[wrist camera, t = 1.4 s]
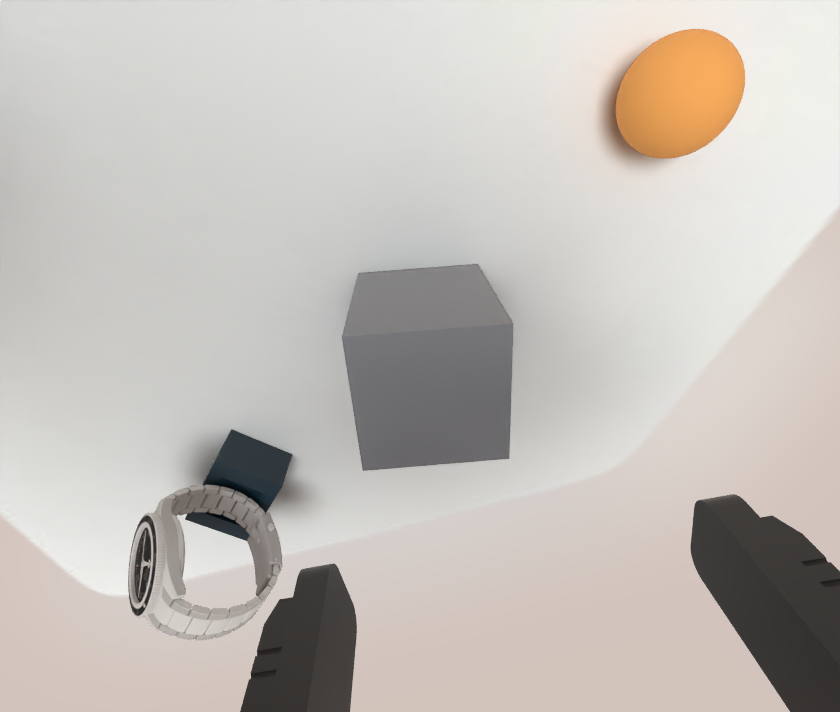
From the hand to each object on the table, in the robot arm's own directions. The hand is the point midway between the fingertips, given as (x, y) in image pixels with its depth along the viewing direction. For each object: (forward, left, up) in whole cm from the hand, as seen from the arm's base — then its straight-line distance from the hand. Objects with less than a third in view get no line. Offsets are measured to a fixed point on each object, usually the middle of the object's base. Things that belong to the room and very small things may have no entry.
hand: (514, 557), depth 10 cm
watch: (-14, -12, -19) cm, 26 cm away
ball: (+11, +9, -16) cm, 21 cm away
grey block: (-1, -2, -18) cm, 18 cm away
